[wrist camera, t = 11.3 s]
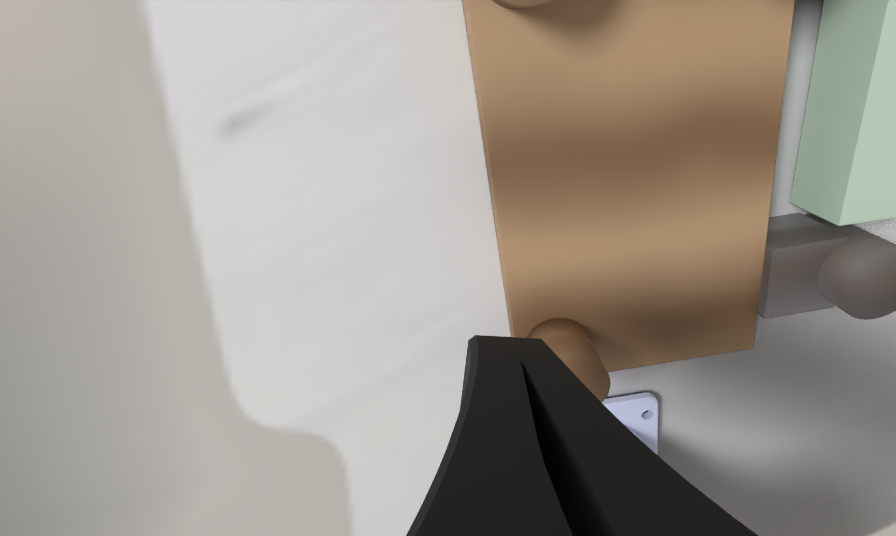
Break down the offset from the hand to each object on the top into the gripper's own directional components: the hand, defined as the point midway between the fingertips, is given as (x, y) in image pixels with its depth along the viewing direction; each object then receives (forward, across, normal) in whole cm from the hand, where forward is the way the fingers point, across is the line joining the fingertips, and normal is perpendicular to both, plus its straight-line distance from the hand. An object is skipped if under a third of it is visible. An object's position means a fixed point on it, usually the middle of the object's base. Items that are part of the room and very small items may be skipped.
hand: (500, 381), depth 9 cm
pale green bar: (+10, -12, -6) cm, 17 cm away
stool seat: (+10, -7, -3) cm, 13 cm away
